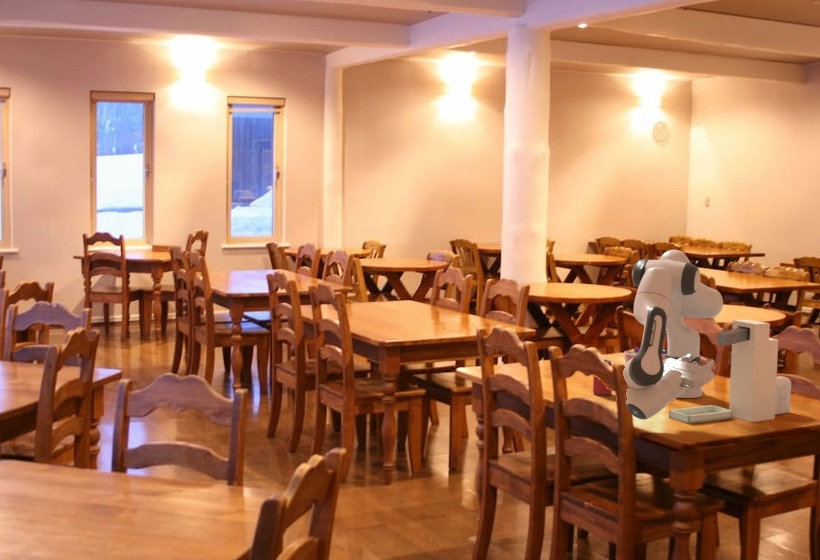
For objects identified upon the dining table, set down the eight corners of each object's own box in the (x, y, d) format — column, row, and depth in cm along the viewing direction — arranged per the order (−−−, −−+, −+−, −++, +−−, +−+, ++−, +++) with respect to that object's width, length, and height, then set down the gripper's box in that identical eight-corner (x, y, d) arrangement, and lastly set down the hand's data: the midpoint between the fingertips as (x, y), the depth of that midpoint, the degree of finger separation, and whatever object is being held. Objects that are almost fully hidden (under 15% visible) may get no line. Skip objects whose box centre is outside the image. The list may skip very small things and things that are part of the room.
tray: (668, 417, 340) (669, 410, 339) (712, 412, 348) (712, 404, 347) (688, 423, 331) (689, 416, 331) (732, 418, 339) (733, 410, 339)
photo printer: (780, 410, 352) (782, 374, 351) (791, 412, 349) (793, 376, 347) (760, 413, 346) (762, 377, 345) (771, 416, 343) (773, 379, 342)
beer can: (603, 396, 370) (604, 363, 369) (589, 393, 375) (590, 360, 374) (615, 394, 374) (616, 361, 373) (601, 391, 379) (602, 358, 378)
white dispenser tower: (728, 415, 343) (732, 320, 340) (751, 412, 348) (756, 318, 345) (751, 422, 335) (755, 324, 331) (774, 419, 339) (779, 322, 336)
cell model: (616, 369, 423) (617, 341, 422) (663, 368, 427) (664, 340, 425) (632, 377, 406) (633, 348, 405) (681, 376, 410) (682, 347, 409)
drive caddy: (717, 343, 334) (716, 333, 334) (748, 335, 340) (747, 325, 339) (726, 345, 331) (725, 335, 330) (757, 337, 336) (756, 327, 336)
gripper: (690, 381, 315) (721, 355, 319) (646, 369, 333) (676, 345, 337) (697, 398, 317) (729, 372, 321) (653, 385, 335) (683, 361, 339)
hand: (701, 358), depth 329 cm, fingers open, 8 cm apart
